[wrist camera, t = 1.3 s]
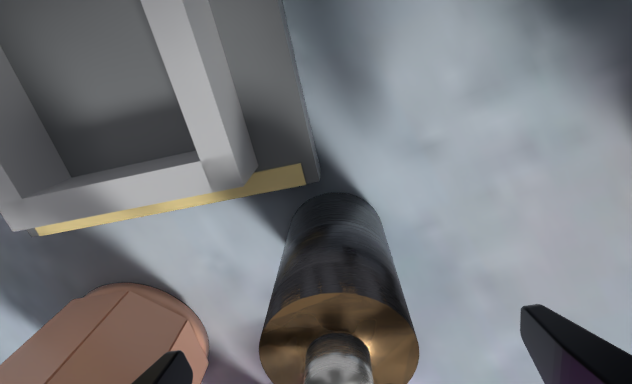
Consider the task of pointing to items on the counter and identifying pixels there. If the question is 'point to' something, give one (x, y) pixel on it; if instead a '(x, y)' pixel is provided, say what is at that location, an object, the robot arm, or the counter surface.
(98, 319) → the cup
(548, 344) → the robot arm
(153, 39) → the cradle
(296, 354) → the cell
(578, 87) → the counter surface
